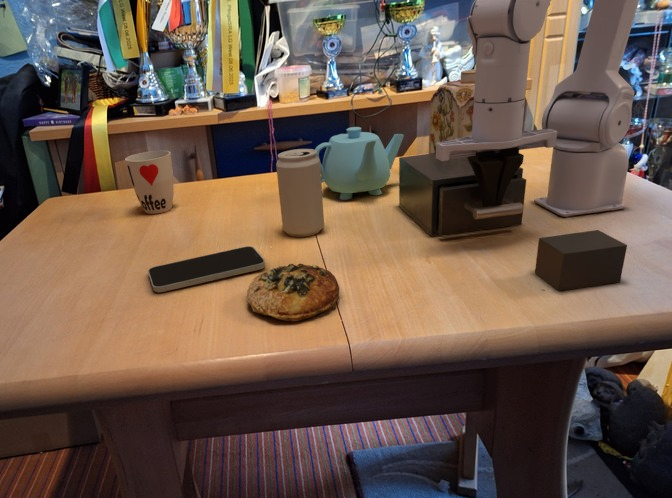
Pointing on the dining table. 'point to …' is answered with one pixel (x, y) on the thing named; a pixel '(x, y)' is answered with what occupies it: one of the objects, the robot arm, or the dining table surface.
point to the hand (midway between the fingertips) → (490, 208)
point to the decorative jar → (452, 110)
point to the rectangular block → (580, 260)
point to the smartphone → (205, 268)
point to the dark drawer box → (477, 207)
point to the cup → (152, 180)
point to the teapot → (357, 162)
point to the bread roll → (293, 292)
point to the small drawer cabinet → (430, 185)
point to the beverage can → (300, 192)
